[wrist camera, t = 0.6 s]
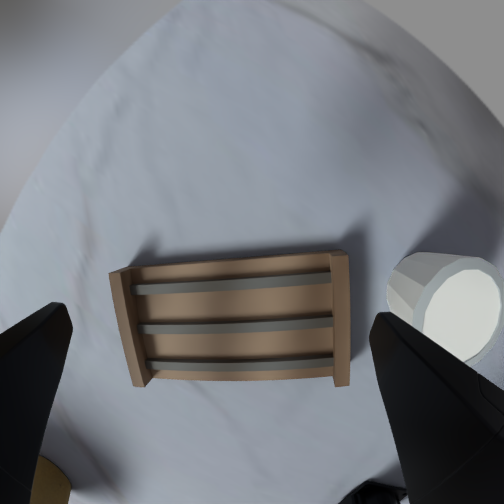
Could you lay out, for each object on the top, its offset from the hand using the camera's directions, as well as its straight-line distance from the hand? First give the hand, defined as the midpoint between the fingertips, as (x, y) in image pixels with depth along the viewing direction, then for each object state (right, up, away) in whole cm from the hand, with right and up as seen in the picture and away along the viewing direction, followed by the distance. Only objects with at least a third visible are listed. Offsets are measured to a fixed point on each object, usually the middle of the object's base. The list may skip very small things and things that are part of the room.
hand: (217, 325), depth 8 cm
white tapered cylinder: (+13, -1, +13) cm, 18 cm away
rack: (0, -3, +14) cm, 15 cm away
